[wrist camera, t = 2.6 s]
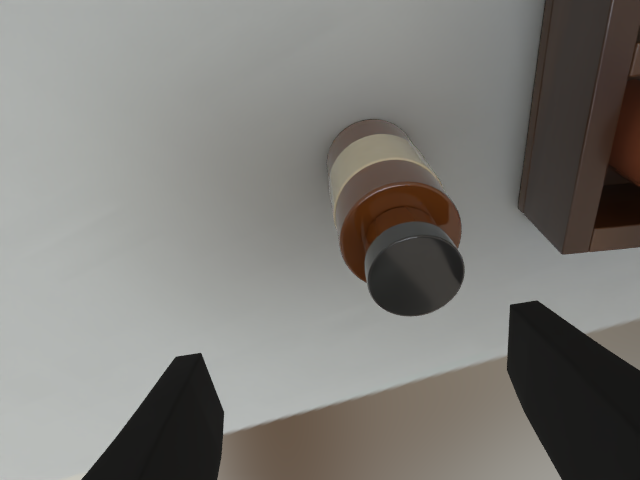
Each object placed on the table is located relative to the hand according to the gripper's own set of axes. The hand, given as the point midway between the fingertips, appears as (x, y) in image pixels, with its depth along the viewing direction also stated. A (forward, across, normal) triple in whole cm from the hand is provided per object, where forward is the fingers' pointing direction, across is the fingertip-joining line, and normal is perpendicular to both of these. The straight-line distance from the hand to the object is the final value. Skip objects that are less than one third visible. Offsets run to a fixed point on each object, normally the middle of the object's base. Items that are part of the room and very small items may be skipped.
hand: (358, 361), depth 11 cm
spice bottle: (+10, -2, -1) cm, 10 cm away
